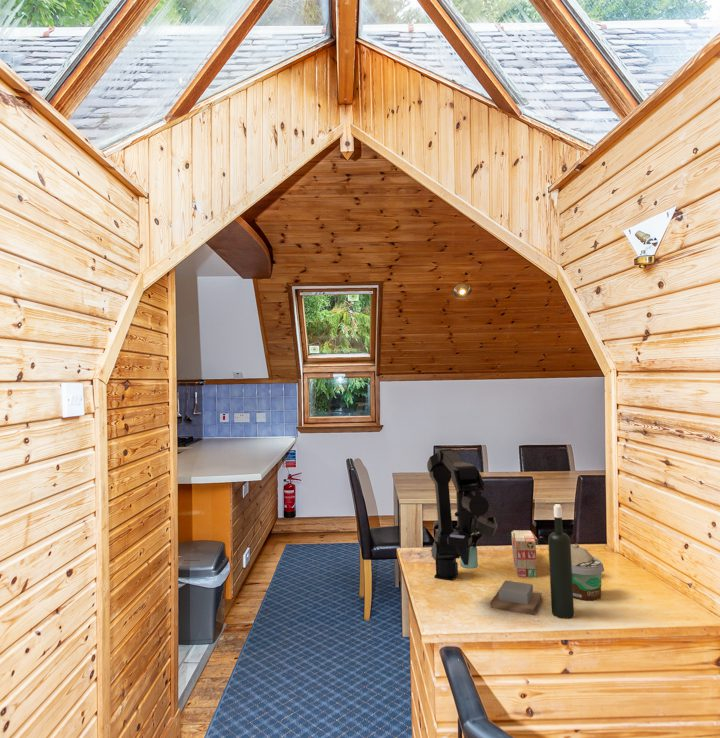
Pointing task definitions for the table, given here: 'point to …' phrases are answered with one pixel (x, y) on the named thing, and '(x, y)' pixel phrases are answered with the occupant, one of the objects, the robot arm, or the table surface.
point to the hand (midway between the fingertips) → (469, 562)
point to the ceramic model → (580, 555)
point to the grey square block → (516, 592)
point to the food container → (587, 580)
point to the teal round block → (471, 559)
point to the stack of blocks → (524, 553)
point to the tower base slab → (517, 607)
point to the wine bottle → (560, 569)
